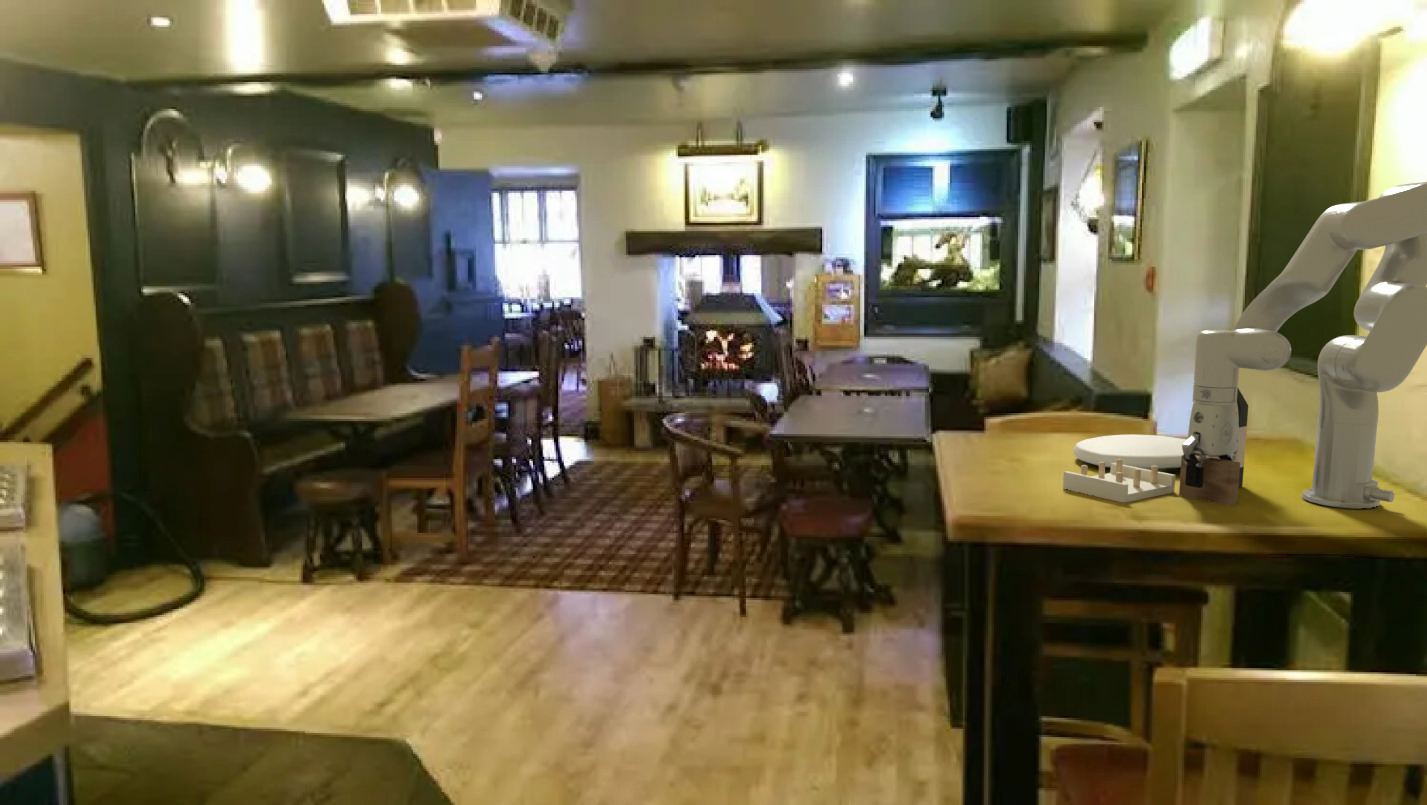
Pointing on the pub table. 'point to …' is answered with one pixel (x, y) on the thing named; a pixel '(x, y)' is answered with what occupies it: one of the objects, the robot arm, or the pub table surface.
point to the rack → (1120, 482)
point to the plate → (1132, 450)
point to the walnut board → (1214, 481)
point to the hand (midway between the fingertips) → (1208, 483)
